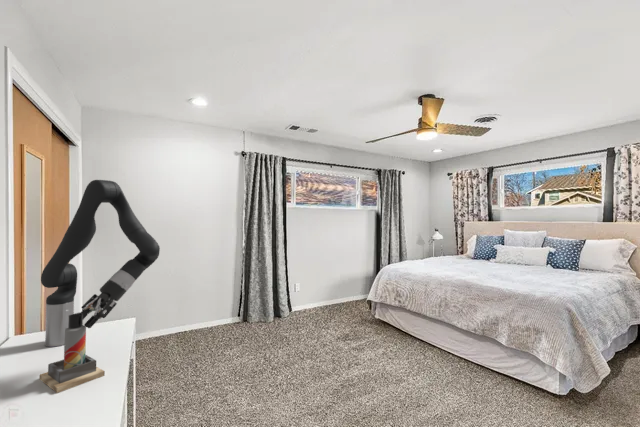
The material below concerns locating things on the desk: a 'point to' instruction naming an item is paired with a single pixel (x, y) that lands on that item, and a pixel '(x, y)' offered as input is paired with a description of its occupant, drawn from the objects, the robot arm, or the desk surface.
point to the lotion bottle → (74, 341)
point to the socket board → (70, 374)
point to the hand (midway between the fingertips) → (81, 324)
